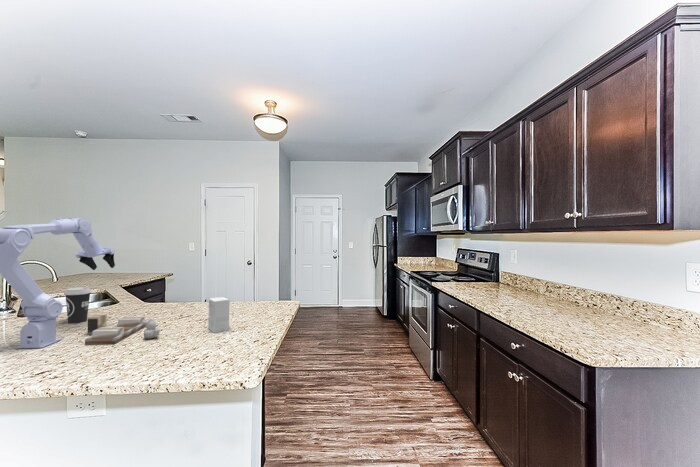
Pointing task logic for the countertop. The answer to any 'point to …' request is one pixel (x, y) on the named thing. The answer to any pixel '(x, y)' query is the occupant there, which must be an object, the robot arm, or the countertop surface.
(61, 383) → the countertop surface
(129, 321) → the rail board
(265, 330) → the countertop surface
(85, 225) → the robot arm
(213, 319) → the small box
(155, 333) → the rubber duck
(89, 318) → the block
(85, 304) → the coffee cup
